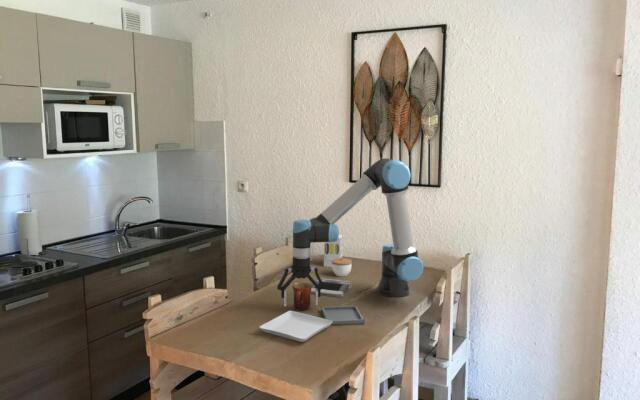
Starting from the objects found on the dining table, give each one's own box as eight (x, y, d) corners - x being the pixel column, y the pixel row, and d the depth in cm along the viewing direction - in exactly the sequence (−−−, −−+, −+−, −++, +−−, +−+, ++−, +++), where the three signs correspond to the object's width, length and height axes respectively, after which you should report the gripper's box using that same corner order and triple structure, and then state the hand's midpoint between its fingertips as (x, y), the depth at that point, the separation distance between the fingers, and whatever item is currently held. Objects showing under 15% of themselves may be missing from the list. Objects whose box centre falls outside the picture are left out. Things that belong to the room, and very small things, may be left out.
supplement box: (323, 266, 303) (323, 236, 301) (325, 262, 312) (326, 233, 310) (340, 267, 302) (340, 237, 299) (342, 263, 311) (342, 234, 308)
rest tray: (355, 309, 236) (356, 305, 236) (364, 324, 219) (364, 319, 219) (321, 310, 234) (321, 306, 234) (327, 325, 217) (327, 321, 217)
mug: (294, 304, 242) (294, 281, 240) (314, 305, 240) (314, 283, 239) (287, 313, 230) (287, 290, 229) (308, 315, 229) (308, 291, 227)
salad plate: (304, 347, 198) (304, 338, 197) (257, 334, 209) (257, 326, 208) (333, 328, 215) (334, 320, 215) (289, 317, 226) (289, 309, 226)
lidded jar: (327, 273, 290) (328, 256, 289) (345, 271, 295) (346, 254, 293) (336, 278, 281) (337, 261, 279) (355, 276, 285) (355, 259, 284)
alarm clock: (351, 281, 266) (341, 288, 251) (350, 291, 267) (341, 298, 251) (317, 278, 272) (306, 284, 256) (317, 287, 272) (306, 294, 257)
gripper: (329, 253, 237) (328, 301, 240) (271, 254, 234) (271, 302, 237) (331, 258, 230) (330, 306, 233) (272, 259, 226) (272, 308, 229)
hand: (300, 304), depth 235 cm, fingers open, 13 cm apart
